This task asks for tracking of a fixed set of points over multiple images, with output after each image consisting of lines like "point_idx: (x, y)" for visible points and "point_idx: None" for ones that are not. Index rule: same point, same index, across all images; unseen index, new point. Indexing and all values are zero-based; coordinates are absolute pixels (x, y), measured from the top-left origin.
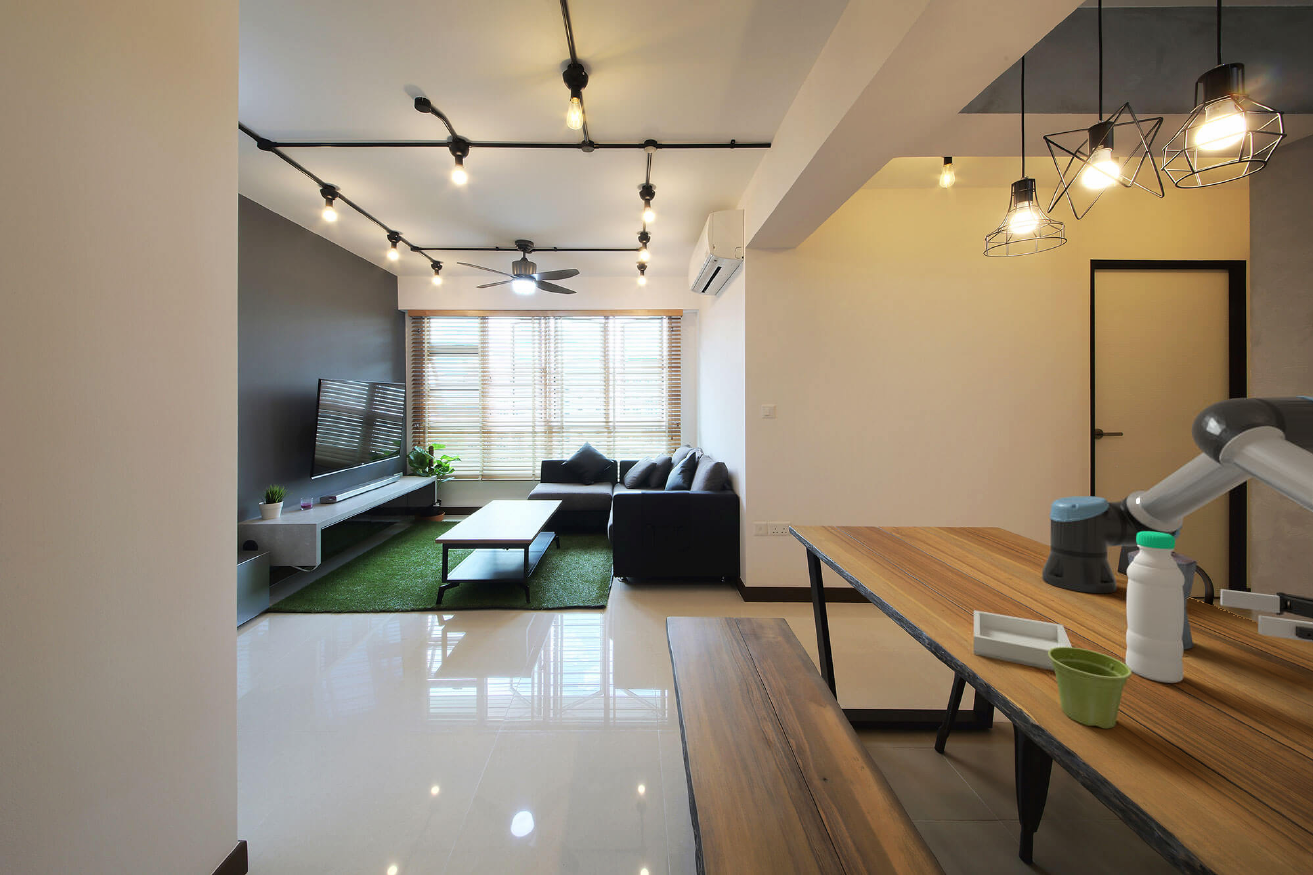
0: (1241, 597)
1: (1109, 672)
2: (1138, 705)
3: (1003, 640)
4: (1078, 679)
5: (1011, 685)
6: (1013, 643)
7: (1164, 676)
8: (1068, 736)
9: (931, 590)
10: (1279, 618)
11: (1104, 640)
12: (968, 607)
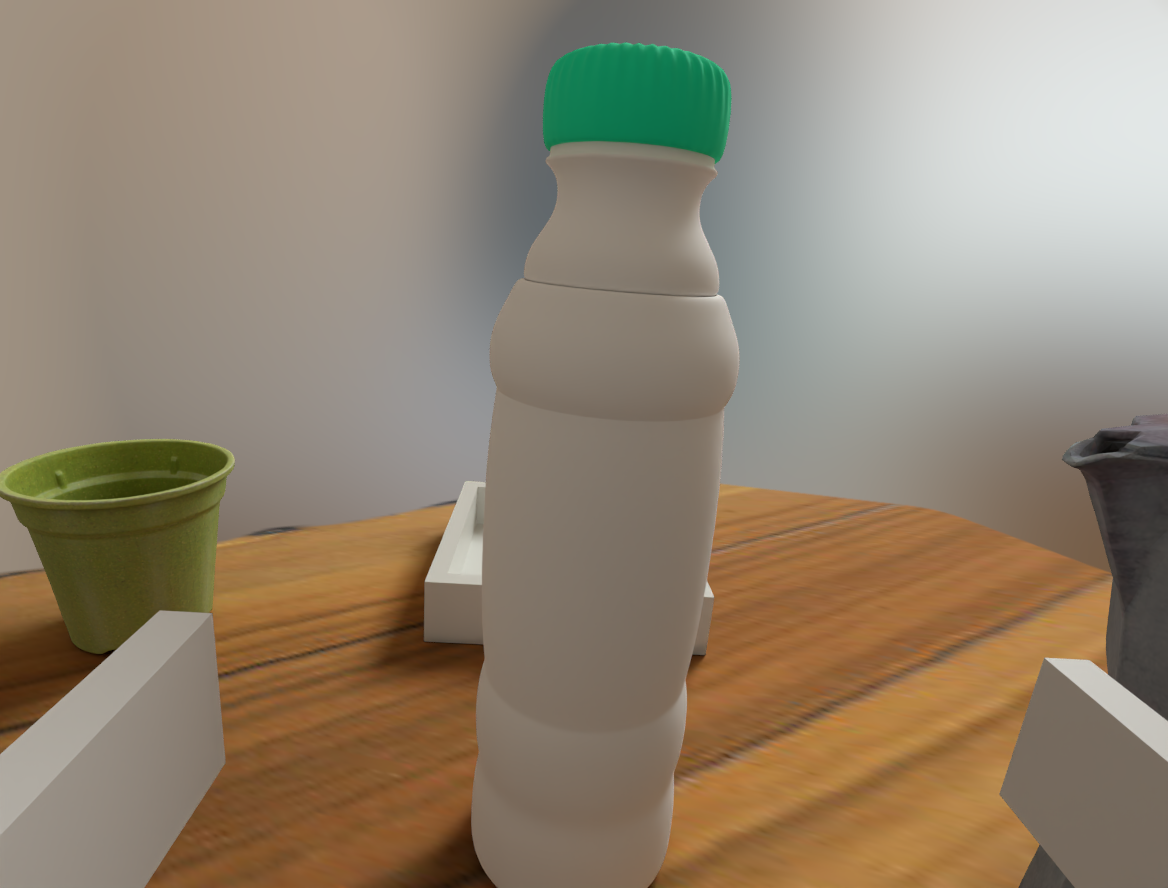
0: (1153, 820)
1: (149, 534)
2: (235, 727)
3: (466, 506)
4: (70, 479)
5: (303, 550)
6: (454, 514)
7: (471, 816)
8: (44, 585)
9: (870, 506)
10: (101, 701)
11: (858, 760)
12: (809, 540)
